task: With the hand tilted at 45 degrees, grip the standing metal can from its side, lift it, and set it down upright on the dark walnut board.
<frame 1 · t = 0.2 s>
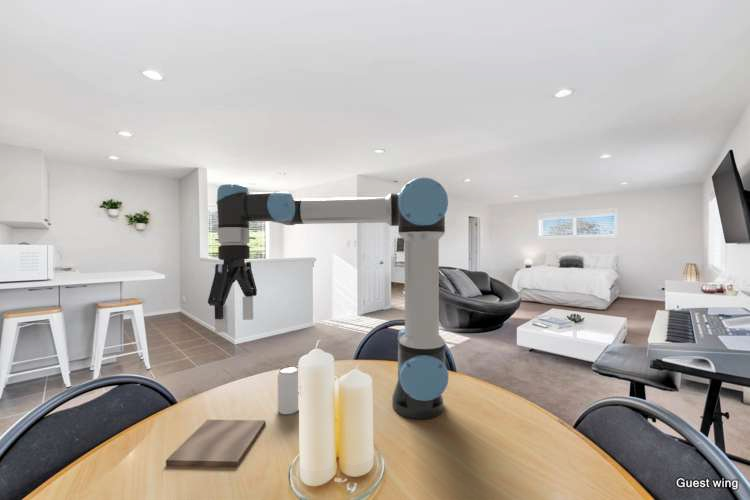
hand: (235, 325, 82), 27 cm above the table, tool pointing down, fingers open, 13 cm apart
walnut board: (220, 443, 77), on the table
can: (289, 410, 92), on the table
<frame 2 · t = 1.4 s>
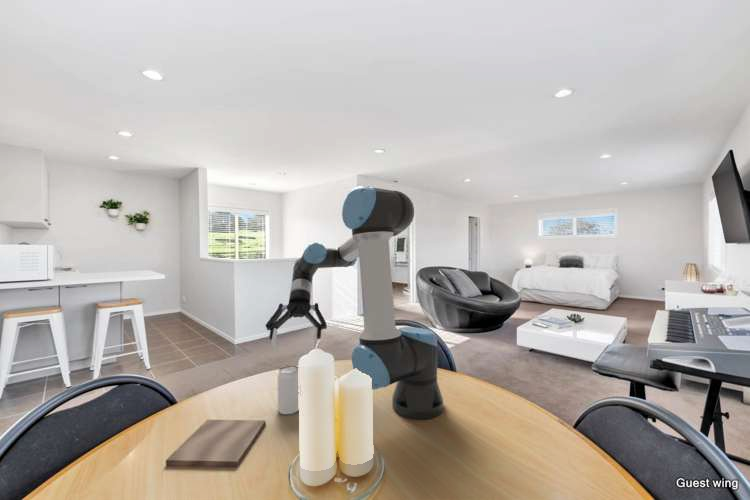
hand: (294, 348, 102), 15 cm above the table, tool tilted 45°, fingers open, 13 cm apart
nothing on the table moved.
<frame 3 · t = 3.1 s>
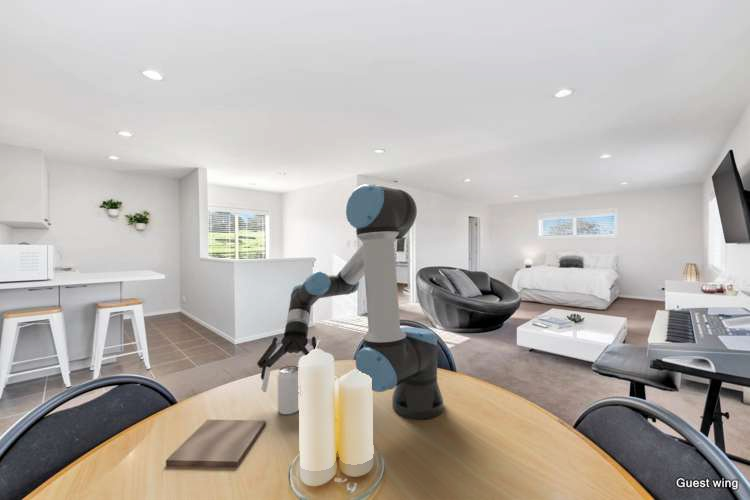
hand: (287, 390, 92), 6 cm above the table, tool tilted 45°, fingers open, 13 cm apart
nothing on the table moved.
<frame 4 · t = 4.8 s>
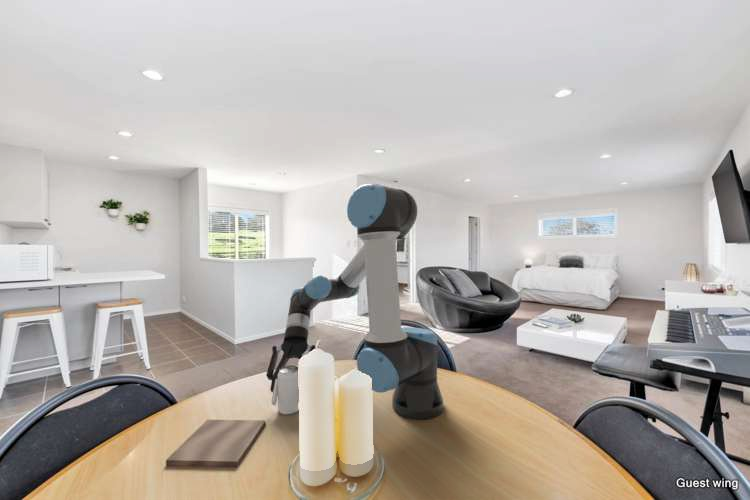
hand: (286, 403, 89), 4 cm above the table, tool tilted 45°, fingers closed on can, 6 cm apart
can: (289, 410, 92), on the table, touching gripper
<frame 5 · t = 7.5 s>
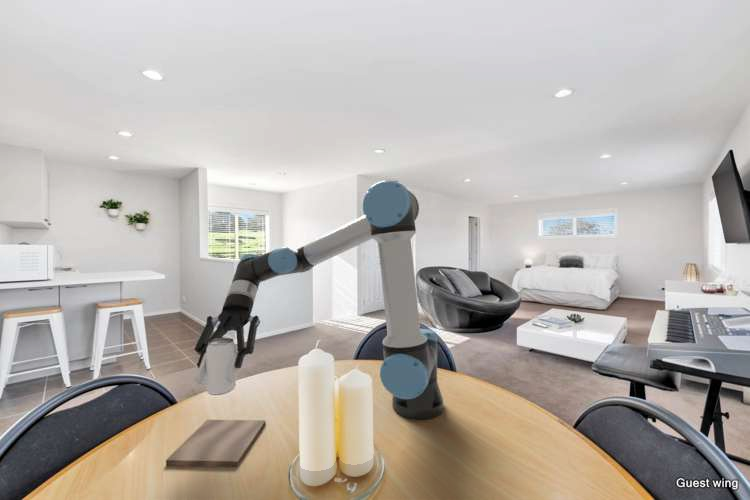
hand: (214, 381, 73), 17 cm above the table, tool tilted 45°, fingers closed on can, 6 cm apart
can: (221, 390, 77), point 13 cm above the table, touching gripper
when the fingers open (6 cm above the table, at t = 10.2 s): can drops 1 cm, resting on walnut board.
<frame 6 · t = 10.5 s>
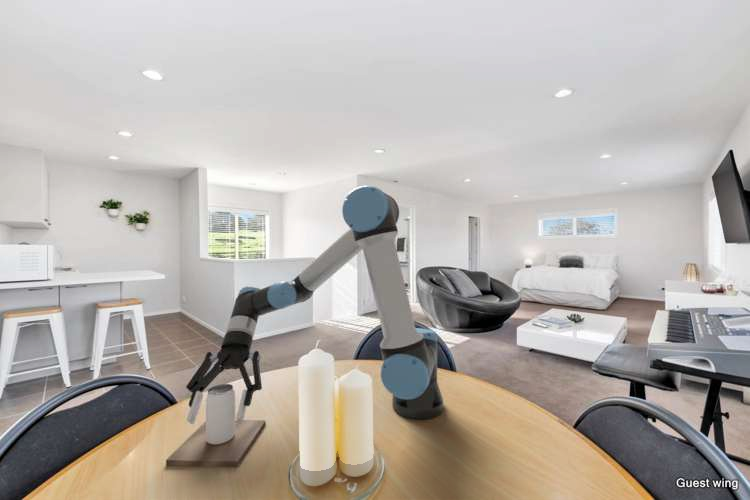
hand: (215, 421, 74), 7 cm above the table, tool tilted 45°, fingers open, 10 cm apart
can: (221, 438, 77), point 1 cm above the table, touching walnut board
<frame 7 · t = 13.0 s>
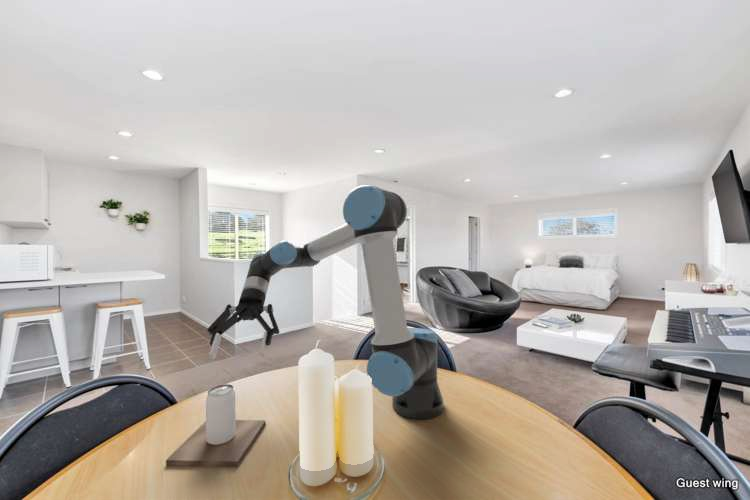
hand: (236, 356, 87), 18 cm above the table, tool tilted 45°, fingers open, 13 cm apart
nothing on the table moved.
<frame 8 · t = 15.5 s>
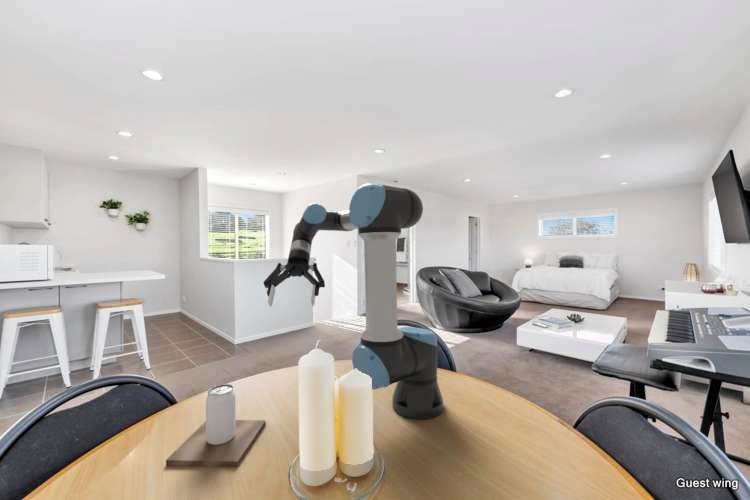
hand: (291, 303, 100), 30 cm above the table, tool tilted 45°, fingers open, 13 cm apart
nothing on the table moved.
at the end: can inside the target area on the walnut board (0.2 cm from its centre), point 1.0 cm above the walnut board's base; can tilted 0°; the gripper is holding nothing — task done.
